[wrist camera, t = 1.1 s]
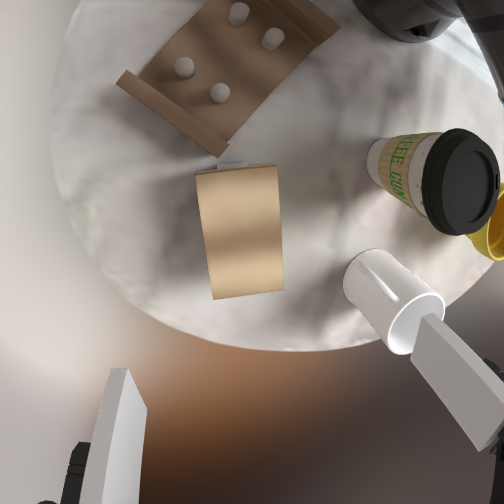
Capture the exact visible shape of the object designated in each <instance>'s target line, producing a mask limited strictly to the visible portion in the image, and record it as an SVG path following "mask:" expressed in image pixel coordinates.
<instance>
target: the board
mask: <svg viewBox="0 0 504 504" xmlns="http://www.w3.org/2000/svg"><path fill="white" fill-rule="evenodd" d="M195 179H196V187H197V194H198V202H199V209H200V217H201V224H202V231H203V237H204V244H205V251H206V257H207V264H208V270H209V276H210V282H211V288H212V294H213V300H217V299H224V298H232V297H239V296H246V295H253V294H260V293H266V292H273V291H280V290H284V276H283V255H282V236H281V219H280V202H279V187H278V172H277V166H275V165H273V164H271V163H267V164H257V165H246V166H237V167H228V168H220V169H211V170H204V171H196V174H195Z"/></svg>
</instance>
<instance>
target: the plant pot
mask: <svg viewBox="0 0 504 504" xmlns="http://www.w3.org/2000/svg"><path fill="white" fill-rule="evenodd" d="M465 235H466V236H467V237H468V238H469V239H470V240H471V241H472V243H473V245H474V247H475V248H476V250H477V251H479V252H480V253H482V254H483V255H485V256H486V257H488V258H490V259H492V260H494V261H501V260H503V259H504V183H500V191H499V197H498V201H497V204H496V207H495V209H494V212H493V214H492V216H491V217H490V219H489V220H488V222H487V223H486V224H485V225H484V226H483V227H482V228H481V229H480V230H479V231H477V232H475V233H472V234H468V235H467V234H465Z"/></svg>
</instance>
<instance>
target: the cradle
mask: <svg viewBox="0 0 504 504" xmlns="http://www.w3.org/2000/svg"><path fill="white" fill-rule="evenodd" d="M339 28H340V27H339V26H338V25H337V24H336V23H335V22H333V21H332V20H331V19H330V18H329V17H328V16H327V15H325V14H324V13H323V12H322V11H321V10H320V9H318V8H317V7H316V6H315V5H313V4H312V3H311V2H310V1H308V0H211V1H210V2H209V3H208V4H207V5H205V6H204V7H203V8H202V9H201V10H200V11H199V12H198V13H197V14H196V15H195V16H194V17H193V18H192V19H191V20H190V21H188V22H187V23H186V24H185V25H184V26H183V27H182V28H181V29H180V30H179V31H178V33H177V34H176V35H175V36H174V37H173V38H172V39H171V40H170V41H169V42H168V43H167V44H166V45H165V46H164V47H163V48H162V50H161V51H160V52H159V53H158V54H157V55H156V56H155V57H154V59H153V60H152V61H151V62H150V63H149V64H148V65H147V67H146V68H145V69H144V70H143V71H142V73H141V74H140V75H139V76H138V77H137V76H135V75H134V74H132V73H131V72H129V71H128V70H126V71H125V72H124V73H123V75H122V76H121V77H120V78H119V80H118V81H117V82H116V85H118V86H119V87H121V88H122V89H124V90H125V91H127V92H128V93H129V94H131V95H132V96H134V97H135V98H137V99H138V100H139V101H141V102H142V103H144V104H145V105H146V106H148V107H149V108H151V109H152V110H153V111H155V112H156V113H158V114H159V115H160V116H162V117H163V118H164V119H166V120H167V121H169V122H170V123H171V124H173V125H174V126H175V127H177V128H178V129H179V130H181V131H182V132H183V133H185V134H186V135H187V136H189V137H190V138H191V139H193V140H194V141H195V142H197V143H198V144H199V145H201V146H202V147H203V148H205V149H206V150H207V151H209V152H210V153H211V154H212V155H214V156H215V157H216V158H219V157H220V155H221V154H222V153H223V152H224V151H225V149H226V148H227V147H228V146H229V144H228V143H227V142H228V141H229V140H230V139H231V137H232V136H233V135H234V134H235V133H236V132H237V130H238V129H239V128H240V127H241V126H242V125H243V123H244V122H245V121H246V120H247V119H248V118H249V117H250V115H251V114H252V113H253V112H254V111H255V110H256V109H257V108H258V106H259V105H260V104H261V103H262V102H263V101H264V100H265V99H266V98H267V97H268V95H269V94H270V93H271V92H272V91H273V90H274V89H275V88H276V87H277V86H278V85H279V84H280V83H281V82H282V80H283V79H284V78H285V77H286V76H287V75H288V74H289V73H290V72H291V71H292V70H293V69H294V68H295V67H296V66H297V65H298V64H299V63H300V62H301V61H302V60H303V59H304V58H305V57H306V56H307V55H308V54H309V53H310V52H311V51H312V50H313V49H314V48H315V47H316V46H318V45H319V44H320V43H322V42H323V41H325V40H326V39H328V38H329V37H331V36H332V35H333V34H334V33H335V32H336V31H337V30H338V29H339Z"/></svg>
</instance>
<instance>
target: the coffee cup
mask: <svg viewBox="0 0 504 504" xmlns="http://www.w3.org/2000/svg"><path fill="white" fill-rule="evenodd" d="M366 162H367V170H368V173H369V175H370V177H371V179H372V180H373V181H374V182H375V183H376V184H378V185H379V186H381V187H383V188H384V189H386V190H387V192H389V193H390V194H391V195H393V196H394V197H396V198H397V199H399V200H400V201H402V202H403V203H405V204H406V205H408V206H409V207H411V208H412V209H413V210H415V211H416V212H418V213H419V214H420V215H422V216H423V217H425V218H428V219H429V221H430V222H431V223H432V225H433V226H434V227H435V228H436V229H437V230H439V231H440V232H442V233H444V234H447V235H454V236H459V235H463V234H467V235H468V234H472V233H475V232H477V231H479V230H480V229H481V228H482V227H483V226H484V225H485V224H486V223H487V222H488V220H489V219H490V217H491V216H492V214H493V212H494V209H495V207H496V204H497V201H498V197H499V191H500V171H499V166H498V162H497V159H496V156H495V154H494V152H493V151H492V149H491V148H490V147H489V145H488V144H486V143H485V142H484V141H482V140H481V139H480V138H479V137H478V136H477V135H475V134H474V133H472V132H470V131H467V130H465V129H460V128H455V129H451V130H448V131H446V132H445V133H442V132H433V133H421V134H411V135H401V136H397V137H392V138H384V139H380V140H378V141H376V142H375V143H374V144H373V145H372V147H371V148H370V150H369V152H368V155H367V161H366Z"/></svg>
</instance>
